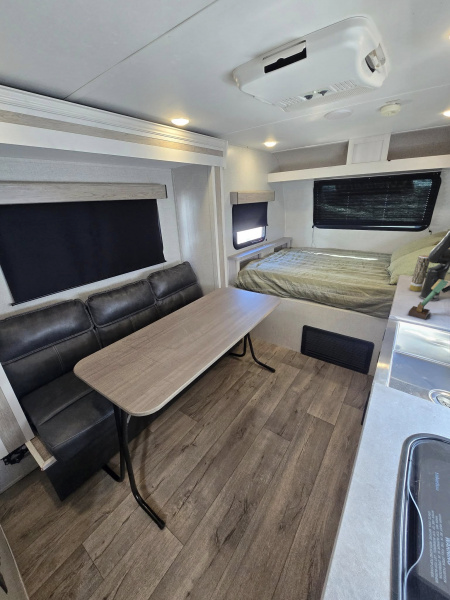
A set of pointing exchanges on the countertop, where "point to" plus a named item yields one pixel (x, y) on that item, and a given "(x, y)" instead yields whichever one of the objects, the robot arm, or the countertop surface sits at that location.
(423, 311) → the brush stand
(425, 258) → the bark textured cylinder
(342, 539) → the countertop surface
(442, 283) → the brush
